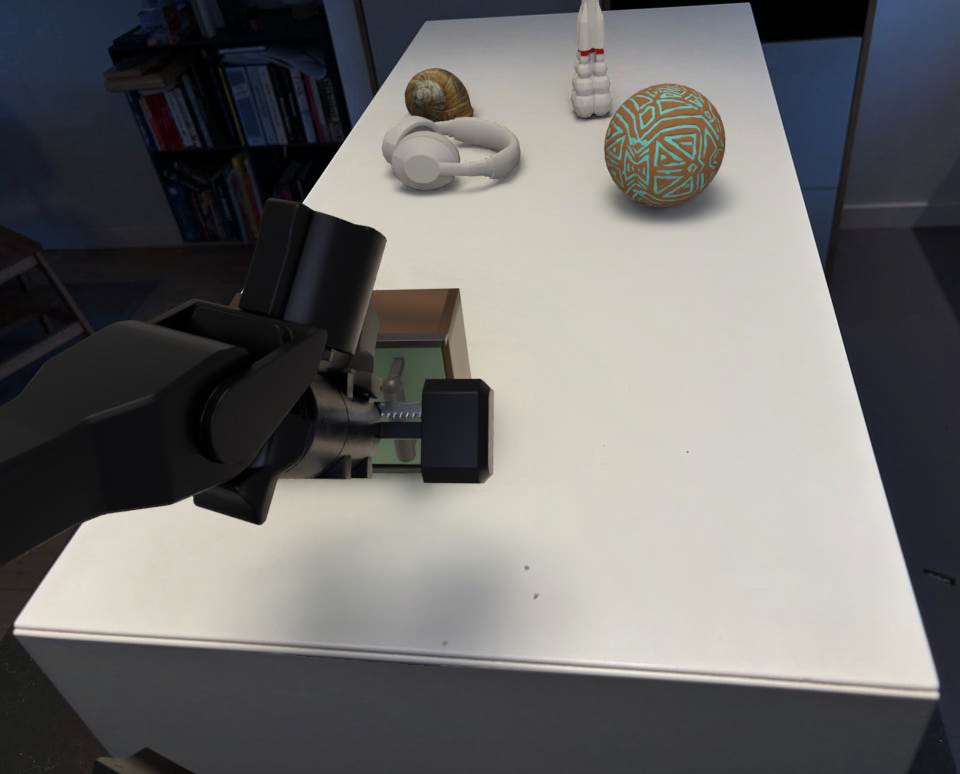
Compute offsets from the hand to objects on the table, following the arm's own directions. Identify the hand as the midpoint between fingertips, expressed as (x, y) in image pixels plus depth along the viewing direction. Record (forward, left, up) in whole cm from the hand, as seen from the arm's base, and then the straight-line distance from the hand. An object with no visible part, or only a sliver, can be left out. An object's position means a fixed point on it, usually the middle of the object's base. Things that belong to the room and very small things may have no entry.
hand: (377, 436), depth 58 cm
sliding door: (+6, +3, -11) cm, 13 cm away
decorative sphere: (+64, -4, -12) cm, 65 cm away
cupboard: (+11, +10, -12) cm, 19 cm away
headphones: (+67, +28, -12) cm, 74 cm away
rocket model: (+92, +15, -12) cm, 94 cm away
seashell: (+86, +40, -12) cm, 96 cm away
